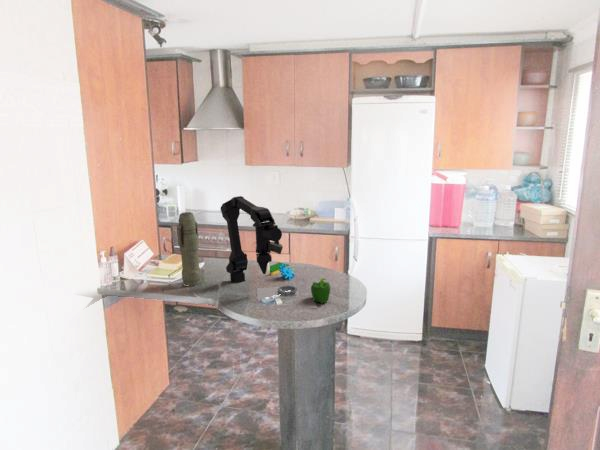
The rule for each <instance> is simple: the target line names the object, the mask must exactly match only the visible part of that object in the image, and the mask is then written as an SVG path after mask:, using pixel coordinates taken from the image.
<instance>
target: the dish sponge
mask: <svg viewBox="0 0 600 450" xmlns="http://www.w3.org/2000/svg"><path fill="white" fill-rule="evenodd" d="M281 264H283V265H287V266H286V268H287V267H288V266H289V267H290V264H288V263H283V262H278V263H275V264H272V265H269V267H270V274H269V275H270V276H273V275H276V274H279V273H281V272H280V271H279V269H280V268H279V267H280V265H281ZM283 267H284V266H283Z"/></svg>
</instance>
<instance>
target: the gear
mask: <svg viewBox="0 0 600 450" xmlns="http://www.w3.org/2000/svg"><path fill="white" fill-rule="evenodd" d="M283 266H284V267H283ZM286 266H287V265H283V264H281V265H280V267H279V268H280V269H279V271H280V272H279V273H280V275H281V278H284V279H285V280H287V281H291V280H293V279H294V278H295V277H296V273H294V271H295V270H294V268H292V269H291V267H290V265H289V266H288V267H287V268H286Z"/></svg>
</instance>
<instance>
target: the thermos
mask: <svg viewBox="0 0 600 450" xmlns="http://www.w3.org/2000/svg"><path fill="white" fill-rule="evenodd" d="M194 215H195V214H194V213H193V212H191V211H190V212H189V211H188V212H187V211H185V212H181V213H180V214H179V217H178V224H177V227H176V233H177V244H178V246H179V251H180V255H181V265H182V269H181V279H182V284H183V283H184V284H185V285H189V286H192V287H196V286H195V285H197V286H199V284H200V285H201V284H202V280H201V279H202V273H201V270H202V269H201V268H200V259H199V228H198V227H199V226H198V222H197V221H196V218H195V216H194Z"/></svg>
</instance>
